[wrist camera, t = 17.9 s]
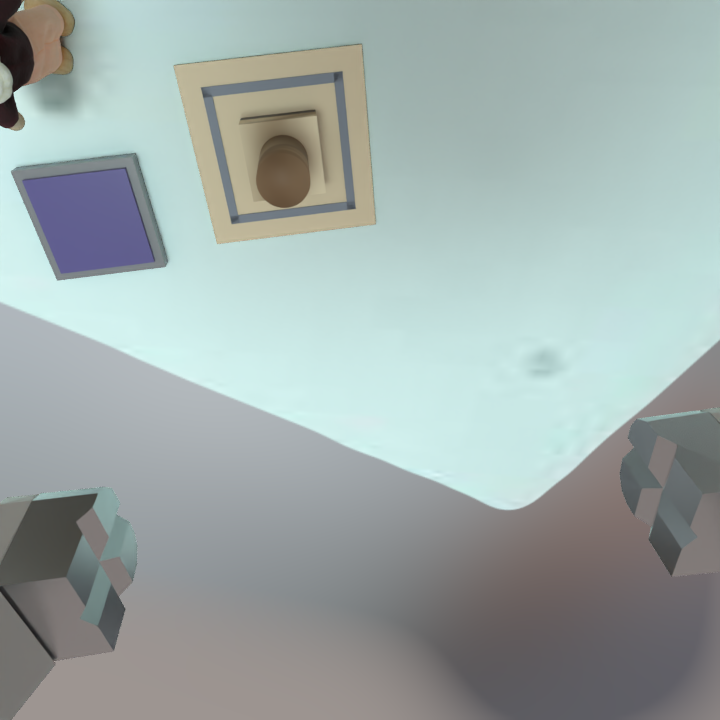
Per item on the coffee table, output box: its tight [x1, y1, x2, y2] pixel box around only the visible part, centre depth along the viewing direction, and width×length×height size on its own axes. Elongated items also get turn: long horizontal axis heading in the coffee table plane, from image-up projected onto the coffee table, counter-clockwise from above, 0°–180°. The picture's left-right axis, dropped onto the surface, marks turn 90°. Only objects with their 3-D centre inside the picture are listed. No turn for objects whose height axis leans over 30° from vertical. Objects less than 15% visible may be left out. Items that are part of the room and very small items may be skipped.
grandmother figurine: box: [0, 0, 75, 131], centre depth 30 cm, size 8×4×13 cm, turn 172°
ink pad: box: [11, 154, 168, 280], centre depth 41 cm, size 8×8×1 cm
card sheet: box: [174, 44, 376, 244], centre depth 40 cm, size 12×12×1 cm
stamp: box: [239, 110, 326, 208], centre depth 37 cm, size 5×5×7 cm
